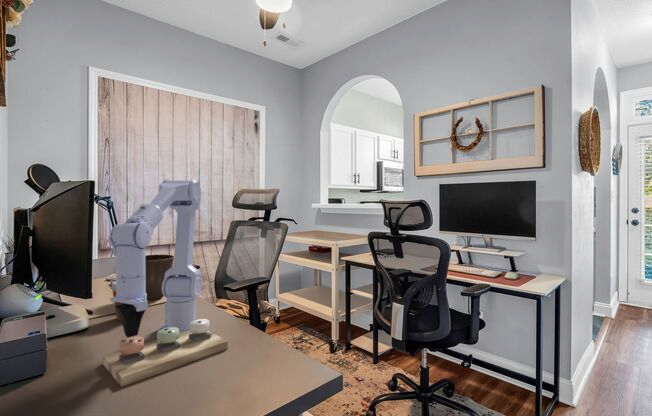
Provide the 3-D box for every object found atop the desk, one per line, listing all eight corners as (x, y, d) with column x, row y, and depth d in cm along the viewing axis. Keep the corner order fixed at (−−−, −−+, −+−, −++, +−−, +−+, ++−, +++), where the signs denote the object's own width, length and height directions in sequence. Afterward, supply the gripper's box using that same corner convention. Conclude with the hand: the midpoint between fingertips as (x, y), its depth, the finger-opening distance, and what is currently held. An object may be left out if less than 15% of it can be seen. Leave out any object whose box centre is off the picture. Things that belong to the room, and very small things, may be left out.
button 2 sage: (154, 339, 81) (154, 330, 81) (174, 333, 84) (174, 325, 84) (161, 344, 77) (161, 335, 77) (182, 338, 81) (182, 330, 81)
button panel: (102, 364, 77) (102, 351, 77) (201, 333, 94) (201, 323, 94) (121, 387, 67) (121, 372, 67) (227, 348, 85) (227, 337, 85)
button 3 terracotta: (116, 349, 75) (116, 340, 75) (139, 343, 78) (139, 334, 78) (123, 356, 71) (123, 346, 71) (147, 349, 75) (147, 340, 75)
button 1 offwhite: (186, 329, 86) (186, 321, 86) (204, 324, 90) (204, 317, 90) (195, 334, 83) (195, 326, 83) (212, 329, 87) (212, 321, 87)
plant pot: (168, 290, 140) (168, 253, 140) (179, 298, 129) (178, 257, 129) (128, 297, 131) (127, 256, 131) (135, 306, 119) (135, 262, 119)
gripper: (101, 273, 77) (102, 332, 77) (120, 284, 67) (121, 351, 67) (135, 269, 82) (135, 323, 82) (157, 278, 72) (158, 340, 72)
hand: (131, 335), depth 75 cm, fingers closed
